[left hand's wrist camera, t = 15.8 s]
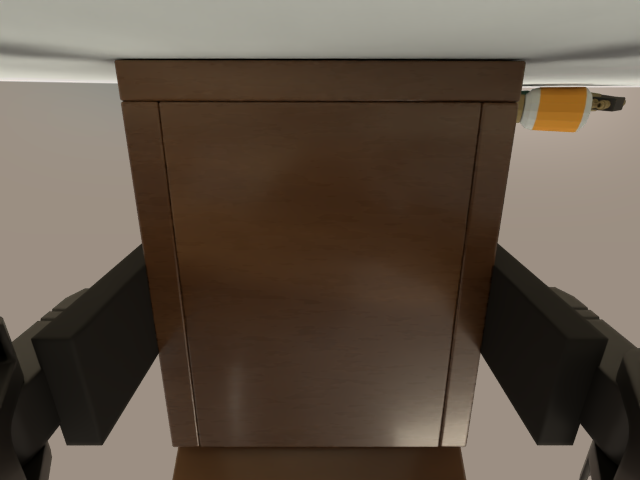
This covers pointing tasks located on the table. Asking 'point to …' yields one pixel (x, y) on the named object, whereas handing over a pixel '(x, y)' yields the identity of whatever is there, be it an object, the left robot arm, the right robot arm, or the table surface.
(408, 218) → the chest
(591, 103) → the spray gun
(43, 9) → the table surface
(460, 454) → the lid
